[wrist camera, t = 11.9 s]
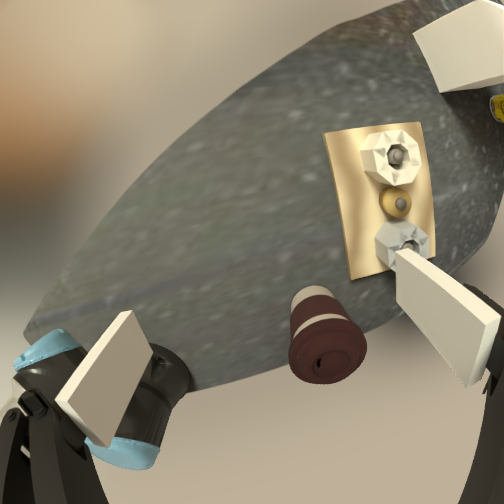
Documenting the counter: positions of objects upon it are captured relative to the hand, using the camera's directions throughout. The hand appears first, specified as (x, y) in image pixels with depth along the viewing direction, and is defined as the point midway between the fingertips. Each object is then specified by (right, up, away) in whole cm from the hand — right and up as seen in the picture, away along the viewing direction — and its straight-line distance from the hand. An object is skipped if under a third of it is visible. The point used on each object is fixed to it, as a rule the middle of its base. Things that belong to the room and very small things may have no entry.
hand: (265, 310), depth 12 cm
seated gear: (+21, +4, +26) cm, 33 cm away
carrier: (+20, +11, +25) cm, 34 cm away
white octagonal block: (+18, +16, +22) cm, 32 cm away
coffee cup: (+9, -6, +31) cm, 33 cm away
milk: (+34, +36, +16) cm, 52 cm away
